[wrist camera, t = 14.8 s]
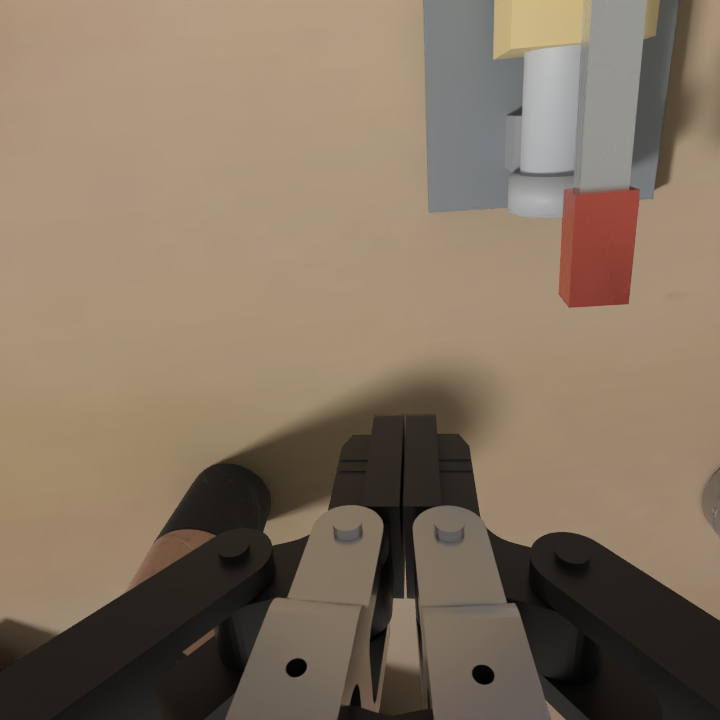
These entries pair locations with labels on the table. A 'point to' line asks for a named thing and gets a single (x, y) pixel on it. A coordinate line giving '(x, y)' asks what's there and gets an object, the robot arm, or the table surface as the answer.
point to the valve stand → (523, 102)
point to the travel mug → (207, 523)
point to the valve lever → (603, 158)
